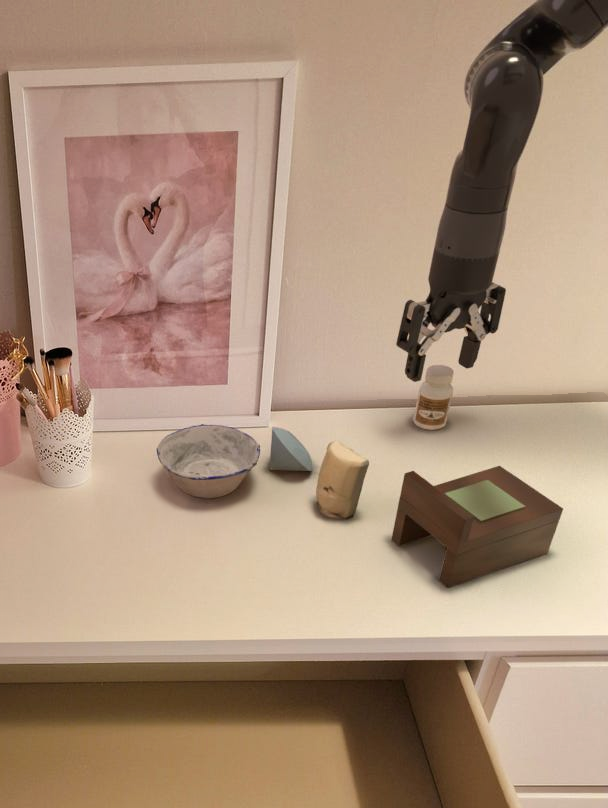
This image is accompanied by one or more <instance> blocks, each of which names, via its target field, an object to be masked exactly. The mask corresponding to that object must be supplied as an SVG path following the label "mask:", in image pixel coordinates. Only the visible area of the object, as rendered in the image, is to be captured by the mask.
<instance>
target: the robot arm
mask: <svg viewBox="0 0 608 808" xmlns="http://www.w3.org/2000/svg"><path fill="white" fill-rule="evenodd" d="M607 28H608V0H535V1H533V3H532V4H531V5H529V6H528V7H526V8H525V10H523V11H522V12H521V13H520V14H519V15H517V16H516V17H515V18H514V19H513V20H512V21H510V23H508V24H507V25H505V27H504V28H503V29H502V30H500V31H499V32H498V33H497V34H496V35H495V36H494V37H493V38H492V39H491V40H490V41H488V43H487V44H486V45H485V46H484V47H483V48H482V49H481V51H480V52H479V53H478V55H477V56H475V58H474V60H473V61H472V62H471V64H470V66H469V68H468V70H467V73H466V75H465V78H464V83H463V84H464V85H463V92H464V93H463V94H464V98H465V101H466V103H467V106H468V107H469V108H470V113H469V119H468V123H467V129H466V132H465V137H464V141H463V147H462V149H461V150H460V151H459V152H458V154H457V155H456V157H455V159H454V162H453V165H452V169H451V171H450V172H451V173H450V176H449V177H450V178H449V183H448V187H447V192H446V198H445V203H444V207H443V209H442V213H441V216H440V219H439V224H438V226H437V232H436V237H435V242H434V248H433V252H432V258H431V263H430V268H429V274H428V279H427V280H428V283H429V284H428V285H429V293H428V295H427V297H426V299H425V301H418V302H416V301H415V300H413V299H409V300H407V301H406V302H405V304H404V308H403V313H402V316H401V320H400V325H399V330H398V334H397V339H396V343H395V344H396V347H397V348H399V349H401V350H403V351H404V352H406V353H407V357H406V362H405V363H406V364H405V367H404V375H405V376H406V378H407V379H409V380H410V381H412V382H413V383H417V382H420V381H422V377H423V373H424V367H425V362H426V357H427V355H426V353H427V351H428V350H429V349H430V347H431V346H432V345H433V343H435V342H438V341H439V340H440V339H441V337H442V336H443V335H444V334H445V333H450V332H452V331H454V330H462V329H463V330H464V332H465V334H466V335H465V336H463V339H462V343H461V348H460V352H459V356H458V360H457V361H458V364H459V366H462V367H463V368H465V369H471V368H473V367H474V365H475V363H476V361H477V359H478V357H479V351H480V348H481V344H482V341H483V340H485V338H486V336H487V335H489V334H495V333H496V332H497V331H498V330H499V326H500V321H501V316H502V312H503V306H504V301H505V297H506V292H507V289H506V287H503V286H501V285H500V284H498V283H496V282H493V280H494V276H495V271H496V268H497V264H498V259H499V255H500V251H501V247H502V243H503V239H504V235H505V231H506V225H507V216H508V210H509V205H510V201H511V196H512V193H513V190H514V189H513V188H514V185H515V180H516V175H517V170H518V165H519V162H520V160H521V158H522V155H523V153H524V151H525V148H526V146H527V143H528V141H529V138H530V136H531V133H532V131H533V128H534V125H535V123H536V119H537V117H538V114H539V111H540V106H541V102H542V98H543V92H544V76H545V74H547V73H548V72H549V71H550V70H551V69H552V68H554V66H555V65H557V64H558V63H559V61H561V60H562V59H563V58H564V57H565V56H567V55H568V54H570V53H573V52H578V51H580V50H583V49H584V48H586V47H587V46H589V45H590V44H591V43H592V42H593V41H594V40H595V39H597V38H598V37H599V36H600V35H601V34H602V33H603V32H604V31H605V29H607ZM479 310H480V311H479ZM429 325H431V326H432V327H434V329H431V328H429ZM423 338H424V339H423ZM422 339H423V340H422ZM421 341H422V342H421Z"/></svg>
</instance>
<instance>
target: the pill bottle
mask: <svg viewBox="0 0 608 808" xmlns="http://www.w3.org/2000/svg"><path fill="white" fill-rule="evenodd" d="M453 377H454V369H453V368H451V367H450V366H447V365H444V364H434V365H430V366H428V367H427V369H426V371H425V375H424V381H423V382H422V383H421V384H420V386H419V388H418V394H417V398H416V404H415V409H414V413H413V418H412V421H413V423H414V425H415V426H417V427H419V428H421V429H423V430H428V431H429V430H431V431H434V430H440V429H442V428H444V427H445V426H446V424H447V420H448V416H449V411H450V408H451V403H452V398H453V395H454V387H453V386H452V382H453Z"/></svg>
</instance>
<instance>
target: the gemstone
mask: <svg viewBox="0 0 608 808" xmlns="http://www.w3.org/2000/svg"><path fill="white" fill-rule="evenodd" d="M271 428H272V429H271V441H270V457H269V471H294V472H295V471H296V472H299V471H300V472H302V471H303V472H304V471H305V472H313V461H312V458H311V455H310V452H309V451H308V450H307V448H306V447H305V446H304V444H303V443H302V442H301V441H300V440H299V439H298V438H297V437H296V436H295V435H294V434H293V433H292V432H290V431H289V430H287V429H286V428H285V429H284V428H283V427H276V426H272V427H271Z"/></svg>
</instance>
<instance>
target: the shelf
mask: <svg viewBox="0 0 608 808" xmlns="http://www.w3.org/2000/svg"><path fill="white" fill-rule="evenodd" d="M401 485H402V486H401V489H400V495H399V498H398V503H397V508H396V509H397V510H396V514H395V519H394V524H393V530H392V534H391V538H390V540H391V541H392V542H393V543H395V544H396V545H397V546H398V547H402V546H405V545H408V544H411V543H414V542H416V541H420V540H423V539H426V538H429V537H431V536H432V537H433V538H435V539H436V540H437V542H439V543H441V544H442V545H443V546H444V547H446V550H445V553H444V558H443V562H442V566H441V570H440V573H439V577H438V582H439V583H441V584H442V585H443V586H444V587H445V588H447V589H448V588H451V587H454V586H456V585H459V584H462V583H465V582H469V581H471V580H475V579H477V578H479V577H482V576H486V575H488V574H491V573H494V572H496V571H500V570H502V569H505V568H508V567H511V566H514V565H517V564H520V563H522V562H526V561H528V560H531V559H534V558H537V557H540V556H542V555H543V556H544V555H545V554H548V553H549V550H550V547H551V545H552V543H553V539H554V536H555V533H556V530H557V528H558V525H559V522H560V520H561V517H562V515H563V511H564V508H563V507H562V506H560V505H559V504H557V503H555V502H554V501H553V500H551V499H550V498H548V497H547V496H545V495H544V494H543V493H541V492H539V491H538V490H537V489H535V488H533V487H532V486H531V485H529V484H527V483H526V482H524V481H523V480H522V479H520V478H519V477H517V476H516V475H515V474H513V473H512V472H510V471H508V470H507V469H505V468H504V467H502V466H501V465H498V466H493V467H490V468H487V469H484V470H480V471H478V472H475V473H471V474H468V475H465V476H464V475H463V476H461V477H458V478H454V479H451V480H449V481H445V482H442V483H439V484H435V485H433V484H432V483H430V482H429V481H428V480H426V479H425V478H424V477H422V476H421V475H420V474H419V473H417V472H415V471H414V470H411V471H408V472H405V473H404V475H403V481H402V484H401Z"/></svg>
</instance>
